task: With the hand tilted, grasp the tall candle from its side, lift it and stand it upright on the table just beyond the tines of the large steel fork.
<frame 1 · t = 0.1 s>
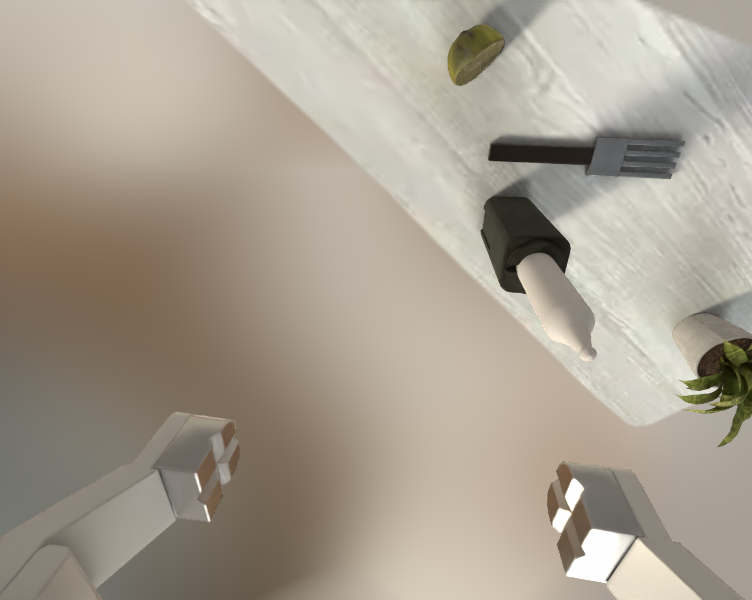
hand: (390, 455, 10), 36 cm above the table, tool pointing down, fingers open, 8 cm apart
lime: (470, 59, 36), on the table
fork: (579, 155, 38), on the table
house plant: (700, 320, 46), on the table
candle: (505, 219, 42), on the table
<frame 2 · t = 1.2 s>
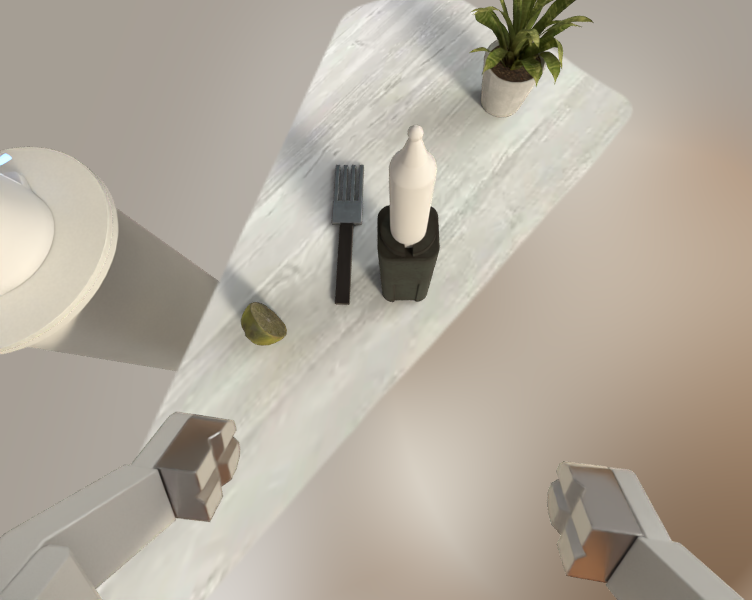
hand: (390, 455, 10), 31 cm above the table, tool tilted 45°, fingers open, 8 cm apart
lime: (271, 329, 43), on the table
fork: (346, 232, 46), on the table
house plant: (489, 102, 50), on the table
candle: (404, 281, 44), on the table
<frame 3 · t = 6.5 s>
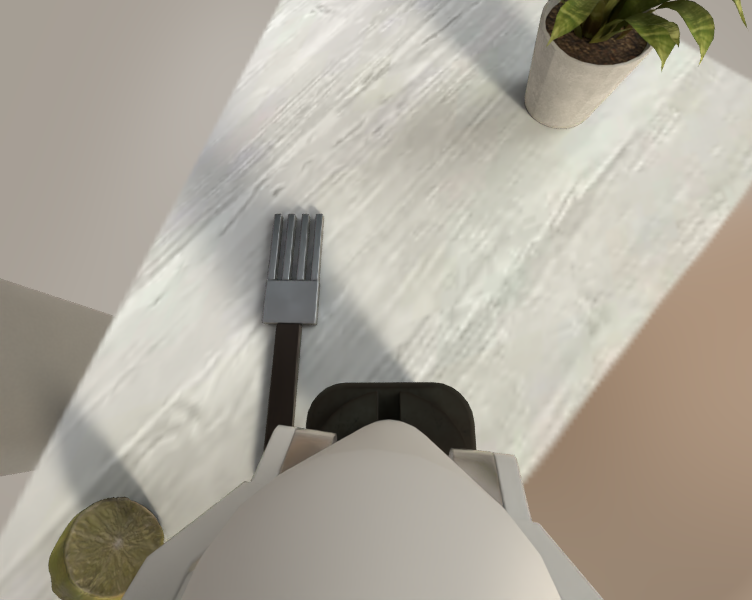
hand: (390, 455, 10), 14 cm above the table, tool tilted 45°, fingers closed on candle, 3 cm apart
lime: (140, 536, 23), on the table
fork: (289, 339, 25), on the table
house plant: (539, 103, 30), on the table
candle: (393, 438, 23), on the table, touching gripper
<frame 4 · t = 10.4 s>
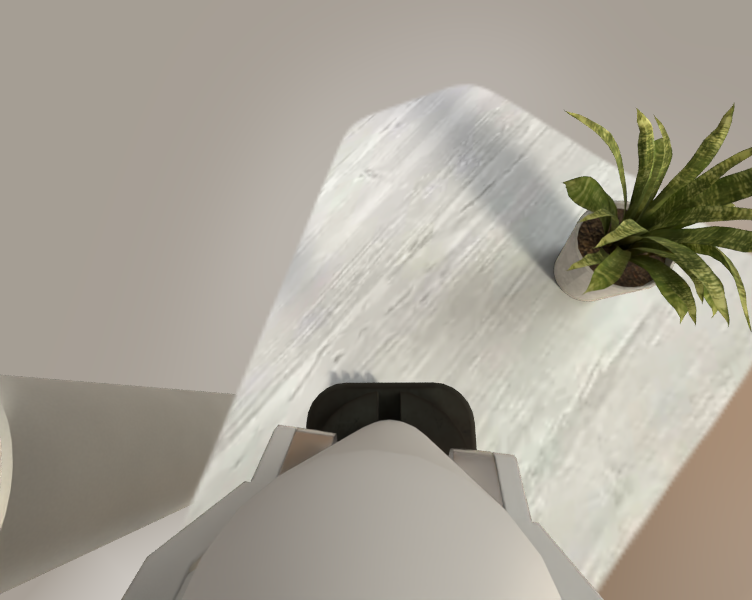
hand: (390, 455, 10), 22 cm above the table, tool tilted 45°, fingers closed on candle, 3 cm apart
house plant: (567, 274, 34), on the table
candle: (393, 438, 23), point 7 cm above the table, touching gripper
when the fingers open (14 cm above the table, at t = 14.7 s): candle stays where it is, on the table.
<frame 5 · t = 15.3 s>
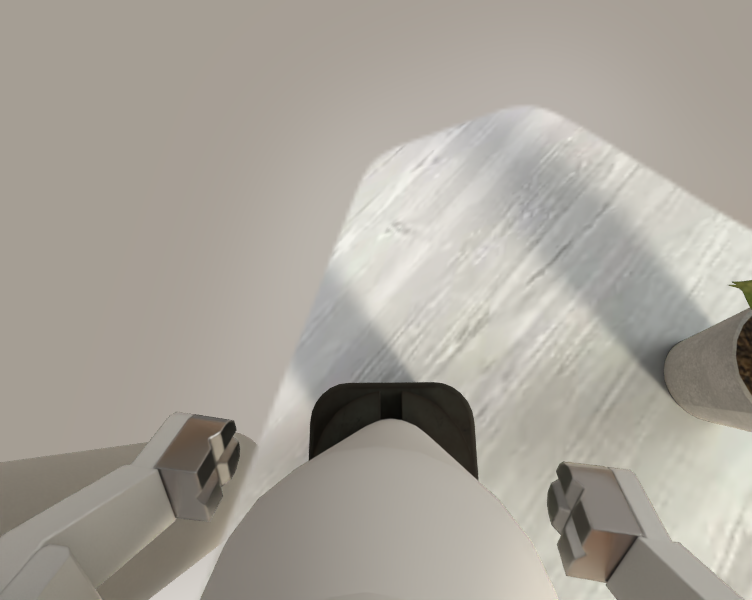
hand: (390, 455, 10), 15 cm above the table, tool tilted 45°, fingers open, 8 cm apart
house plant: (682, 378, 24), on the table
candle: (394, 437, 24), on the table
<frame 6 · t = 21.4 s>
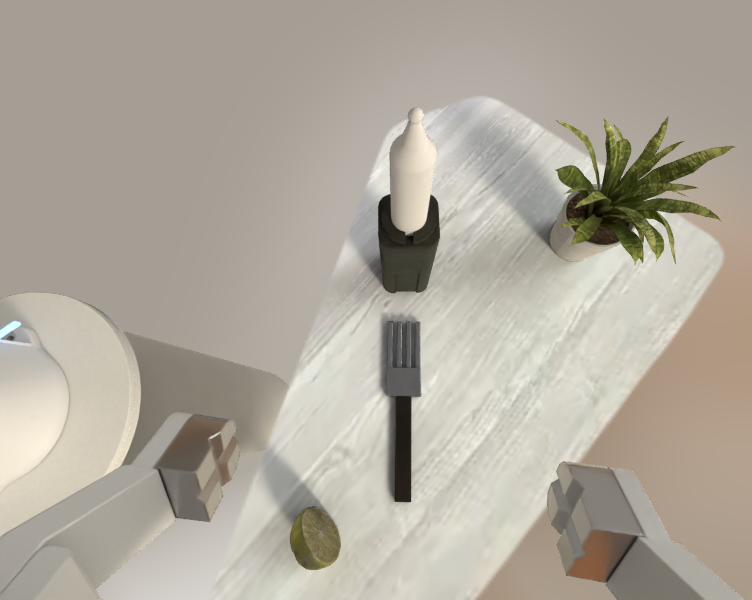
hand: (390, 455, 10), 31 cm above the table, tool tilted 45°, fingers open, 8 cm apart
lime: (320, 530, 37), on the table
fork: (403, 406, 40), on the table
house plant: (559, 241, 44), on the table
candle: (405, 272, 44), on the table
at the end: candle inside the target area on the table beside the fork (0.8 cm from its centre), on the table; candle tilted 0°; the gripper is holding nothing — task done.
